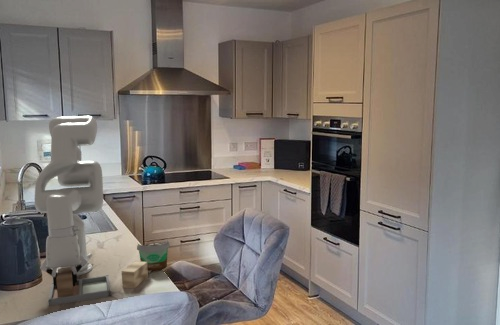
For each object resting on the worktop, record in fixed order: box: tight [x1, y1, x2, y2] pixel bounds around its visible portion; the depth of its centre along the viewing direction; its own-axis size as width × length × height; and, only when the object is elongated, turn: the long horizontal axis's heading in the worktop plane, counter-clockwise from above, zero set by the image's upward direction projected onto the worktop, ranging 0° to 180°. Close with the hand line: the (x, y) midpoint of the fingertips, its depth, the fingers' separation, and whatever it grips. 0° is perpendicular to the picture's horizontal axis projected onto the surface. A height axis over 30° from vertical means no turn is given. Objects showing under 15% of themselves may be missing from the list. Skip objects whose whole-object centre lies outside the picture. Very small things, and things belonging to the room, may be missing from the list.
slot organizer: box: [48, 274, 112, 306], centre depth 149 cm, size 15×18×2 cm
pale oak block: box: [121, 260, 149, 289], centre depth 157 cm, size 10×4×6 cm, turn 166°
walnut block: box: [56, 267, 74, 297], centre depth 147 cm, size 10×4×6 cm, turn 20°
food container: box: [136, 238, 171, 273], centre depth 168 cm, size 12×6×10 cm, turn 114°
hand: (65, 285), depth 148 cm, fingers closed on walnut block, 4 cm apart
